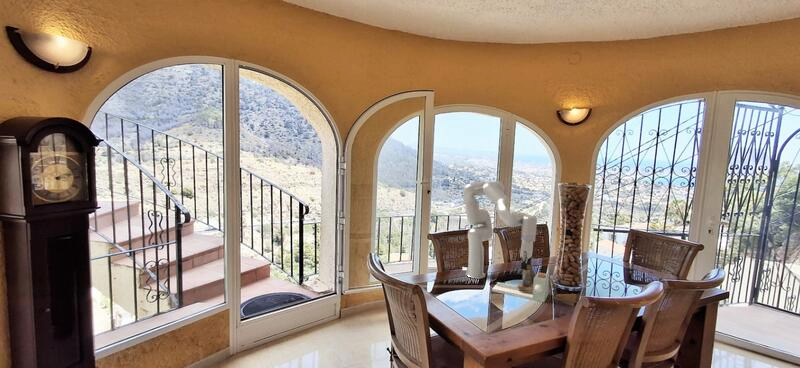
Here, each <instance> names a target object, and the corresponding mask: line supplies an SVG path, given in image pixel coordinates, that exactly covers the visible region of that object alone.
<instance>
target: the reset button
mask: <svg viewBox="0 0 800 368" xmlns="http://www.w3.org/2000/svg"><path fill="white" fill-rule="evenodd" d="M545 274H546V273H544V272H539V275H538V277H541V278H545Z"/></svg>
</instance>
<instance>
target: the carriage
mask: <svg viewBox="0 0 800 368" xmlns="http://www.w3.org/2000/svg"><path fill="white" fill-rule="evenodd" d="M521 281H522V282H519V284H518V285H516V286H517V288H519V291H523V292H528V293H532V290H533V285H530V273H526V272H525V273H522V280H521Z"/></svg>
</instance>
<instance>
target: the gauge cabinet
mask: <svg viewBox="0 0 800 368" xmlns="http://www.w3.org/2000/svg"><path fill="white" fill-rule="evenodd" d="M539 273H540V272H537V273H536V274H535V277H534V282H533V301H536V302H542V303H545V301H546V300H547V297H548V295H549V287H550V285H549V283H550V282H549V281H550V274H549V273H545V278H541V277H538V275H539Z"/></svg>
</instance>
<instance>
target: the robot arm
mask: <svg viewBox="0 0 800 368" xmlns="http://www.w3.org/2000/svg"><path fill="white" fill-rule="evenodd" d="M504 192H505V186H504V184H503V183H502V182H501V181H497V180H496V181H478V182H477V181H475V182H470V183H467V184H466V185H465V186H464V187H463V189H462V198H463V201H464V202H463V203H464V205H465V212H466V219H467V222H468V224H469V225H470V226H474V227H472V228H470V229H469V230H468V231H467V240H468V261H467V262H468V264H467V266H462V268H461V269H462V271H464V272H465V276H466V275H467V276H468V278H469V277H471V278H470V279H474V278H475V280H477V279H479V280H480V279H484V278H486V273H485V272H484V258H485V256H484V255H485V247H484V245H483V242H485V241H489V240H491V239H492V238H493V235H494V230H493V225H492V218H491V215H490V212H489V211H488V210H487V209H482V208H480V204H479V201H478V199H477V198H476V197H478V196H486V197H488V199H489V200H490V201H491V202H492V203H493V204H494V206H495V208H496V212H497V216H498V217H499V219H500V220H501V221H502V222H503V223H504V225H506V226H508V227H509V228H516V227H521V235H520V240H521V246H520V252H519V253H520V254H519V257H520V258H521V262H520V270H523V271H524V270H527V265H531V266H532V255H533V251H534V250H533V249H534V243H535V242H536V234H537V223H538V218H537V217H536V216H535V215H532V214H527V213H524V212H521V211H520V212H513V213H512V212H510V211H509V209H508V207H507V206H506V204H507V203H508V201H509V198H508V195H506V194H505V193H504ZM476 225H479V226H476ZM467 276H466V277H467Z"/></svg>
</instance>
